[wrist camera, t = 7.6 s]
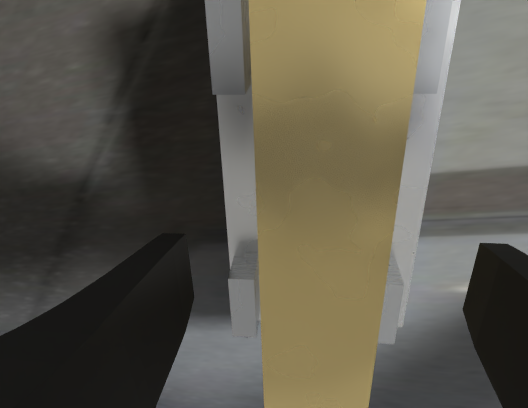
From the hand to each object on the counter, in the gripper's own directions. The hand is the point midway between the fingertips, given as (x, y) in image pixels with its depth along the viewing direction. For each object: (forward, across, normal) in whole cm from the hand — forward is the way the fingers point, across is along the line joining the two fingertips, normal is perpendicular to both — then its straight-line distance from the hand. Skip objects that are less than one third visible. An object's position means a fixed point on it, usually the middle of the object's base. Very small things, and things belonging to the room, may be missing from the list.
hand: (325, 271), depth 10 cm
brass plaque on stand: (+5, 0, 0) cm, 5 cm away
